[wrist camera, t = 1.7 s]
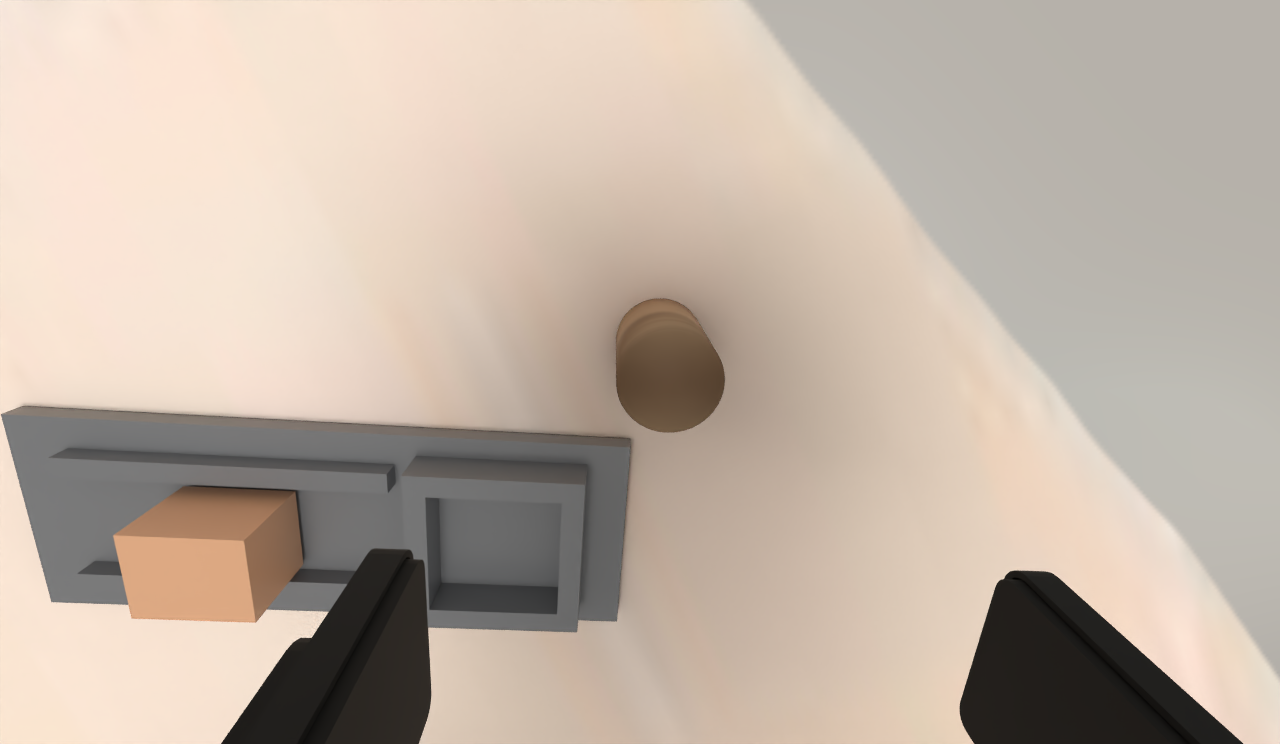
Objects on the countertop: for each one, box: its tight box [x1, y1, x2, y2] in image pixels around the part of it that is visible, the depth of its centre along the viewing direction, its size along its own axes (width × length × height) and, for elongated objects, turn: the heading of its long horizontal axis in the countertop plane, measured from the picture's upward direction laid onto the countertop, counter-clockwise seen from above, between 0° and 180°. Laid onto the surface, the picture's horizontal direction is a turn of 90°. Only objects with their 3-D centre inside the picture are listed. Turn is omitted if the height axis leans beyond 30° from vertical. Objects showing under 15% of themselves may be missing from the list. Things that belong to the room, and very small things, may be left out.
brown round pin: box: [616, 299, 725, 432], centre depth 24 cm, size 4×4×6 cm
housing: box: [1, 406, 631, 632], centre depth 28 cm, size 10×28×3 cm, turn 86°
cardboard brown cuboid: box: [113, 486, 303, 623], centre depth 26 cm, size 4×5×4 cm
